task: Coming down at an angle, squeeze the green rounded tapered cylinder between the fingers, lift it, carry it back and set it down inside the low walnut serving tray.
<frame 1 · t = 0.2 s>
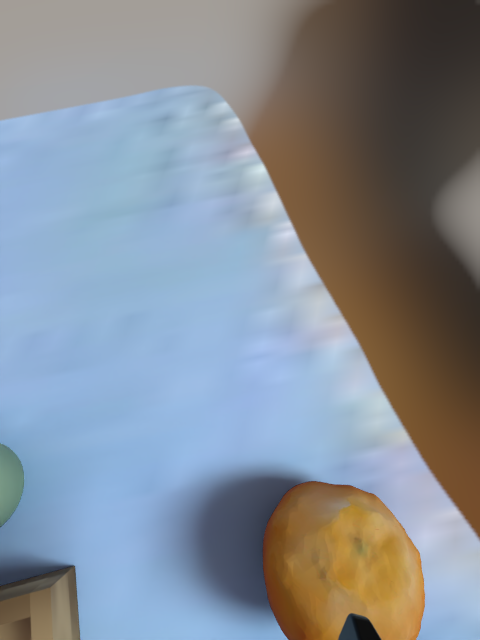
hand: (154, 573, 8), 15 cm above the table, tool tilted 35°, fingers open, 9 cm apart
fruit: (319, 545, 21), on the table
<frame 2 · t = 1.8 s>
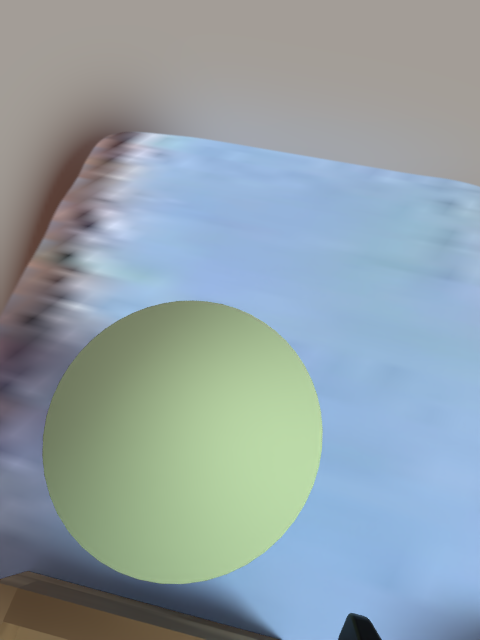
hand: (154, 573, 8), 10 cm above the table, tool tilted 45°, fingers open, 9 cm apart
green rounded tapered cylinder: (198, 478, 18), on the table
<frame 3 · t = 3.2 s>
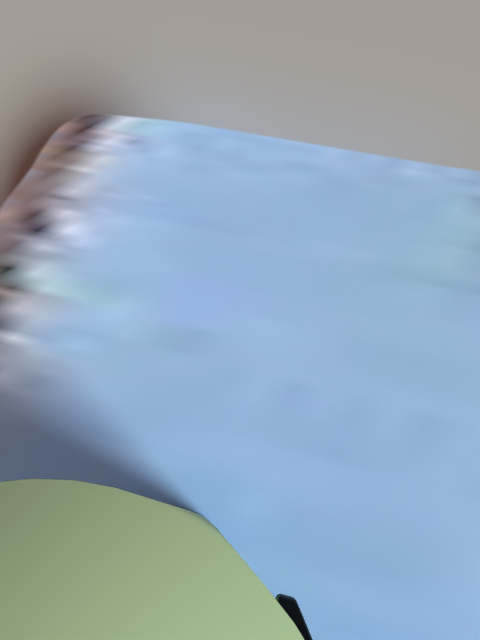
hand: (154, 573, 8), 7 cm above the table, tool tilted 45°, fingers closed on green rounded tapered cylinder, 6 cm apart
green rounded tapered cylinder: (164, 592, 13), on the table, touching gripper
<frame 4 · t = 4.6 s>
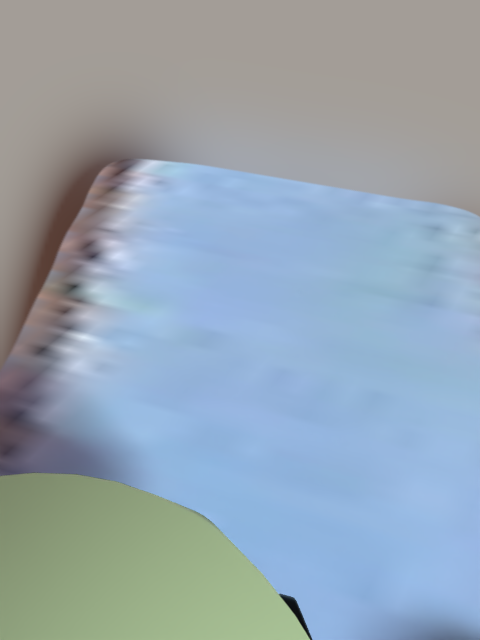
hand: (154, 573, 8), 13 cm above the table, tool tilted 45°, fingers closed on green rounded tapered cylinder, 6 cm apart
green rounded tapered cylinder: (164, 591, 13), point 7 cm above the table, touching gripper
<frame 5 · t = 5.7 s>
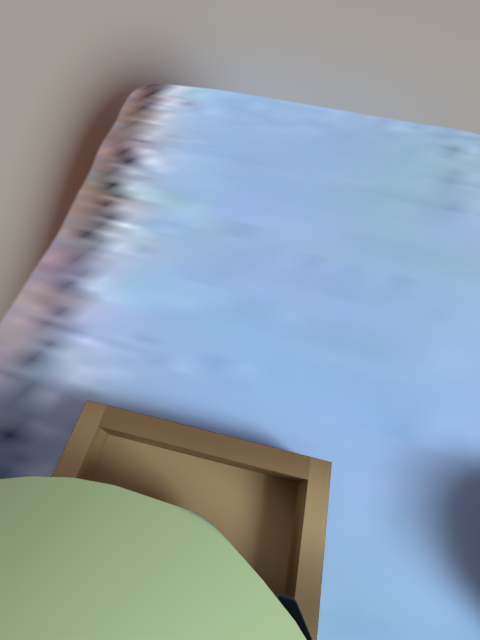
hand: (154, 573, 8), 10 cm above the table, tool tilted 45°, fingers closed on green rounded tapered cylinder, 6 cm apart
tray: (173, 573, 16), on the table
green rounded tapered cylinder: (164, 592, 13), point 3 cm above the table, touching gripper
when the fingers open (9 cm above the table, at t = 6.2 s): green rounded tapered cylinder drops 2 cm, resting on tray.
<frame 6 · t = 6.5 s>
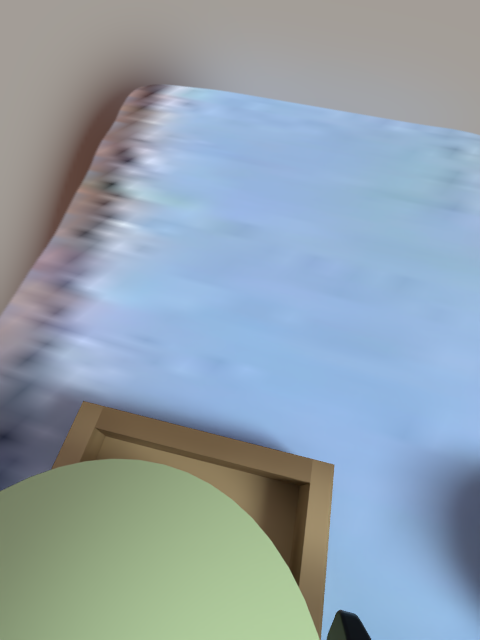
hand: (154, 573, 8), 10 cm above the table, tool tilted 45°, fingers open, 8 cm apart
tray: (171, 579, 15), on the table
green rounded tapered cylinder: (168, 585, 14), point 1 cm above the table, touching tray
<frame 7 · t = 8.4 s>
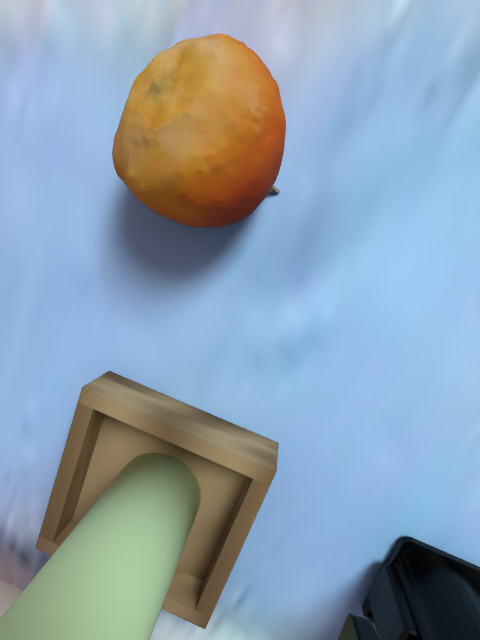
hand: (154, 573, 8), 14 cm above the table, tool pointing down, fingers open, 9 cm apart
tray: (164, 481, 23), on the table
fruit: (218, 163, 20), on the table
green rounded tapered cylinder: (159, 492, 22), point 1 cm above the table, touching tray
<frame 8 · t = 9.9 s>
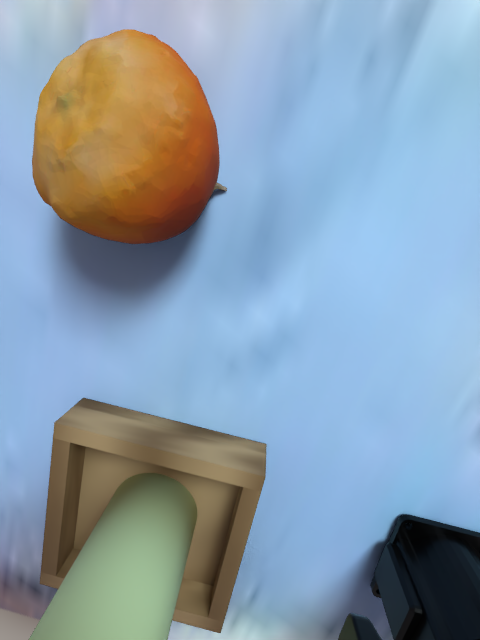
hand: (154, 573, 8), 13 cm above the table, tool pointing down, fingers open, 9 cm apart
tray: (159, 497, 23), on the table
fruit: (158, 167, 18), on the table
green rounded tapered cylinder: (154, 509, 22), point 1 cm above the table, touching tray
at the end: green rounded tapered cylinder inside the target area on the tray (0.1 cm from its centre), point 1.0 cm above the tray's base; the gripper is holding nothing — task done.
